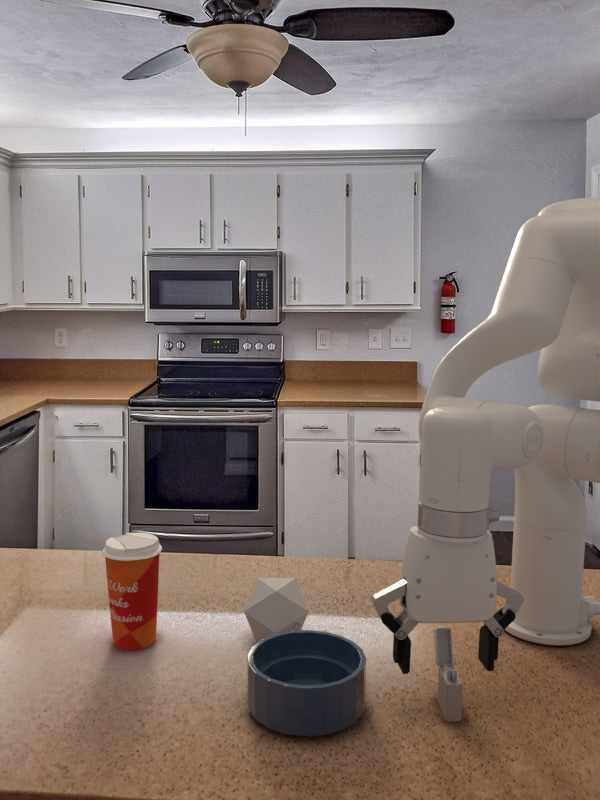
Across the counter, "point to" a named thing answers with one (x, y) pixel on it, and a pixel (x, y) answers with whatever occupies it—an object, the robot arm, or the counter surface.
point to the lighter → (447, 676)
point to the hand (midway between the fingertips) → (444, 666)
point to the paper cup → (133, 588)
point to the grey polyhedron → (275, 607)
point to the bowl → (306, 682)
